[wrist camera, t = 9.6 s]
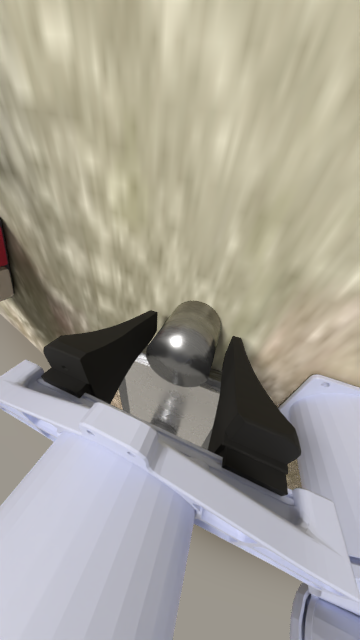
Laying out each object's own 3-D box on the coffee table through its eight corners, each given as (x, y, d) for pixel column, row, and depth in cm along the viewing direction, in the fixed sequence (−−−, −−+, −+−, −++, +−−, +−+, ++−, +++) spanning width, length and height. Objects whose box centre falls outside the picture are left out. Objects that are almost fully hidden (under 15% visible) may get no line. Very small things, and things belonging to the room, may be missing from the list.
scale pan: (230, 392, 16) (229, 398, 16) (197, 450, 27) (196, 454, 26) (125, 352, 19) (122, 355, 18) (133, 419, 29) (131, 423, 29)
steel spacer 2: (227, 309, 13) (217, 353, 9) (214, 348, 15) (201, 395, 12) (175, 294, 14) (145, 329, 10) (171, 333, 16) (146, 373, 12)
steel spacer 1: (172, 423, 23) (157, 466, 19) (180, 438, 25) (167, 480, 21) (147, 416, 25) (127, 454, 21) (155, 431, 27) (139, 468, 23)
